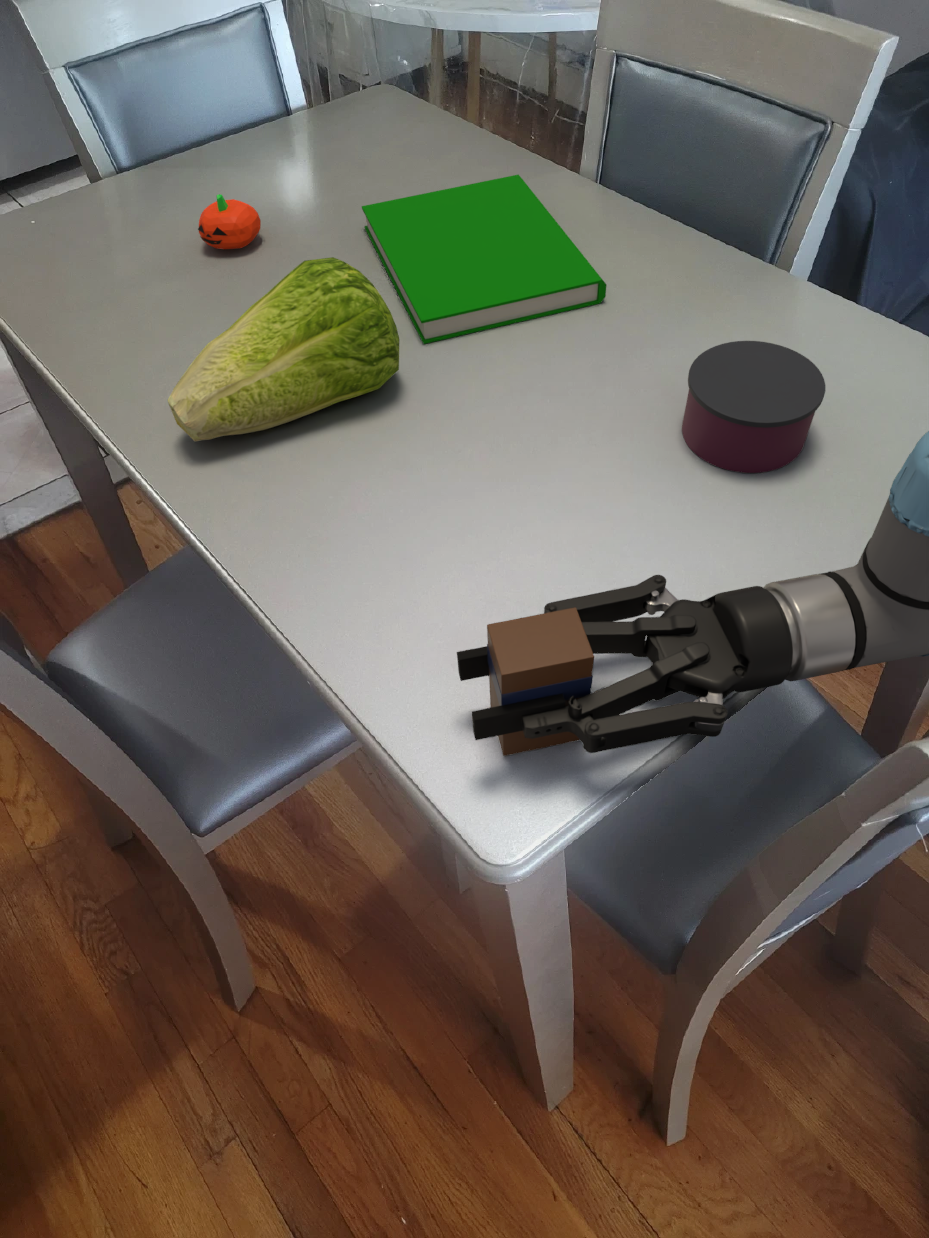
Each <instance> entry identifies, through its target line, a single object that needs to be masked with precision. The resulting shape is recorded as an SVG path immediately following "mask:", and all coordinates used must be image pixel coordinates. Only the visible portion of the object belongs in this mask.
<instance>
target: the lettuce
mask: <svg viewBox="0 0 929 1238" xmlns="http://www.w3.org/2000/svg"><path fill="white" fill-rule="evenodd" d="M398 332H399V331H398V327H397V325H396V322H395V319H394V317H393V314H392V312H391V310H390V308H389V306H388V305H387V303H386V302H385V299H384V298H383V296H382V295H381V294H380V292H379V291H378V289H377V288H376V287H375V285H374V283H373V282H371V281H370V279H368V278H367V276H366V275H364V274H363V273H362V272H361V270H359V269H357V268H355V267H354V266H352V265H350V264H348V263H347V262H346V261H344V260H341V259H339V258H336V257H333V256H332V257H323V258H315V259H307V260H304V261H302V262H301V263H299V264H298V265H296V267H294V269H292V270H291V271H290V272H289V273H287V274H286V275H285V276H284V277H283V278H282V279H281V280H279V281H278V282H277V283H276V284H275V285H274V286H273V287H272V288H271V289H269V291H268V292H266V293H265V294H264V295H263V296H262V297H260V298H259V299H258V300H257V301H255V302H254V303H253V304H252V305H250V306H249V307H248V308H247V309H246V310H245V311H244V312H243V314H242V315H241V316H240V317H238V319H237V320H235V321H234V323H232V324H231V325H230V326H229V327H228V328H227V329H226V330H225V331H223V332H222V333H220V334H219V335H218V336H216V337H215V338H213V339H212V340H211V341H209V342H208V343H207V344H206V345H205V346H204V347H203V349H201V351H199V353H198V354H197V356H196V357H195V358H194V359H193V360H192V362H191V363H190V365H189V366H188V367H187V369H186V370H185V371H184V373H183V375H181V377H180V378H179V380H178V381H177V383H176V384H175V386H173V389H172V391H171V393H170V395H169V397H168V398H167V403H168V406H169V408H170V411H171V414H172V416H173V418H174V420H175V423H176V425H177V426H178V427H179V428H180V429H181V430H183V431H184V432H185V434H187V435H188V437H190V439H192V441H194V442H199V441H205V440H212V439H216V438H220V437H223V436H224V437H225V436H234V435H243V434H249V433H255V432H260V431H265V430H268V429H271V428H274V427H278V426H281V425H283V424H286V423H289V422H292V421H295V420H298V419H300V418H302V417H303V418H304V417H305V416H307V415H310V414H313V413H315V412H318V411H320V410H322V409H325V408H328V407H330V406H333V405H335V404H337V403H340V402H343V401H346V400H347V401H348V400H350V399H353V398H356V397H359V396H362V395H365V394H368V393H371V392H374V391H376V390H379V389H380V388H382V386H384V384H386V382H387V381H389V380H390V379H391V378H392V377H393V376H394V375H395V374H396V373H397V372H398V371H399V370H400V336H399V333H398Z"/></svg>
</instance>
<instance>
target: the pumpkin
mask: <svg viewBox="0 0 929 1238" xmlns="http://www.w3.org/2000/svg"><path fill="white" fill-rule="evenodd" d="M261 222H262V221H261V218H260V215H259V212H257V210H256V208H255V207H254V206H252V205H250V204H248V203H246V202H243V201H241V200H238V199H235V198H233V199H225V197H224V196H223V194H221V193H220V194H216V200H215V201H214V202H212V203H211V204H209V205H208V206H206V207H205V208H204V209H203V211H202V212H201V213H200V216H199V220H198V228H197V230H198V234H199V237H200V238H201V240H202V241H203V242H204V243H205V244H206V245H208V246H210V247H211V248H214V249H217V250H218V249H219V250H233V249H234V250H235V249H237V250H238V249H243V248H245V247H246V246H248V245H250V243H252V242H254V239H255V238H256V237H257V236H258V234H259V233H260V231H261V224H262V223H261Z"/></svg>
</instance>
